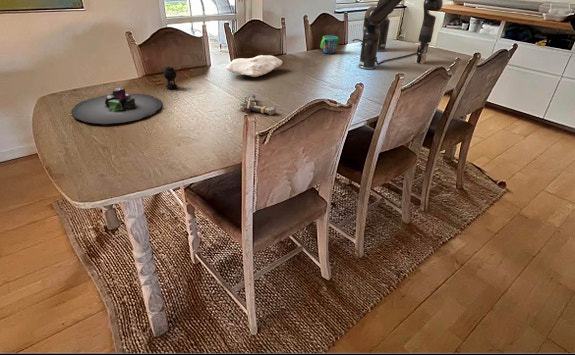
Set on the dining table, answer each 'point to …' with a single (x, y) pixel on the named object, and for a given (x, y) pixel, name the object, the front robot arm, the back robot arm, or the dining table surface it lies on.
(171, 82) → the gumball machine
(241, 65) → the crumpled cloth
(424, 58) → the block
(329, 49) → the snack cup
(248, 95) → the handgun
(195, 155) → the dining table surface
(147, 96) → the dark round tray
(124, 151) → the dining table surface
